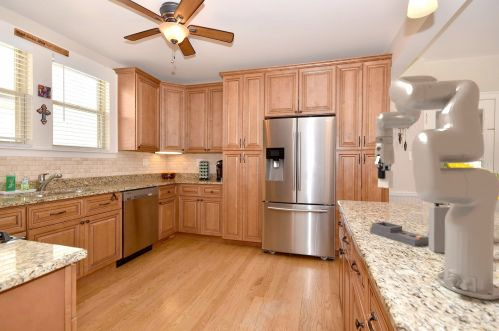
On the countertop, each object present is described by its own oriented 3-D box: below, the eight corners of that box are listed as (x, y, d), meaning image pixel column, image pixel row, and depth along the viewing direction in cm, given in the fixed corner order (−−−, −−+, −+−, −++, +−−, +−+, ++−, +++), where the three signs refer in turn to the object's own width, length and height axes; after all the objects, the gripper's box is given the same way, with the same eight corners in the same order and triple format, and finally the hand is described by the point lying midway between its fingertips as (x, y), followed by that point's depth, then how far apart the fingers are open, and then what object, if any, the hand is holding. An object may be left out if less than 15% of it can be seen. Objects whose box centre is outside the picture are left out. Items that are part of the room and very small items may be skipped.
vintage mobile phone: (449, 253, 86) (450, 184, 85) (434, 252, 87) (434, 184, 86) (443, 249, 89) (443, 183, 89) (428, 249, 90) (428, 183, 90)
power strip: (415, 247, 93) (415, 235, 93) (370, 233, 111) (370, 223, 111) (428, 244, 97) (428, 232, 97) (383, 231, 115) (383, 221, 115)
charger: (388, 188, 112) (388, 171, 112) (377, 186, 116) (378, 170, 116) (392, 187, 114) (393, 170, 114) (382, 186, 119) (382, 170, 118)
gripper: (382, 139, 108) (382, 179, 108) (400, 141, 117) (400, 178, 117) (367, 140, 114) (366, 178, 114) (385, 142, 123) (384, 177, 124)
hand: (384, 178), depth 116 cm, fingers closed on charger, 4 cm apart
